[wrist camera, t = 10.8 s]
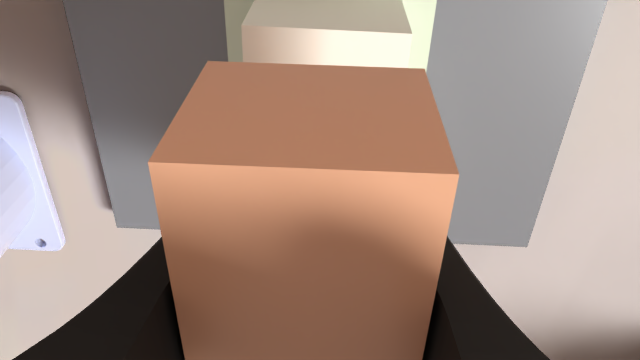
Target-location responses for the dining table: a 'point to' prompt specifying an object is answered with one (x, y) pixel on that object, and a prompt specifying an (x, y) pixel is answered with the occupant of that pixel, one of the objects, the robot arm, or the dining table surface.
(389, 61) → the cream brick
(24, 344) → the dining table surface
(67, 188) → the dining table surface
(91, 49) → the baseplate
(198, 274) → the terracotta brick
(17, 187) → the robot arm
